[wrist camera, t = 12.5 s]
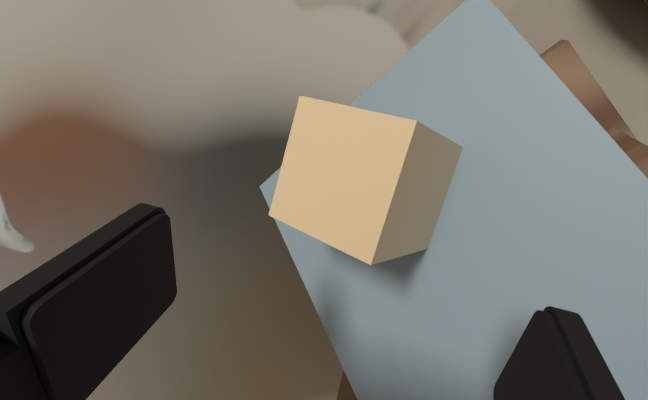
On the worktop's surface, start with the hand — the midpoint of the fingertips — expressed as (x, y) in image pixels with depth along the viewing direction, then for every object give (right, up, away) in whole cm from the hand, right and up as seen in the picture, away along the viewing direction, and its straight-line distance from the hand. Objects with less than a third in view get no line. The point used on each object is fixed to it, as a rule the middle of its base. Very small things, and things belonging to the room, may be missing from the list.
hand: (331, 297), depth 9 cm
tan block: (+4, +3, +9) cm, 10 cm away
